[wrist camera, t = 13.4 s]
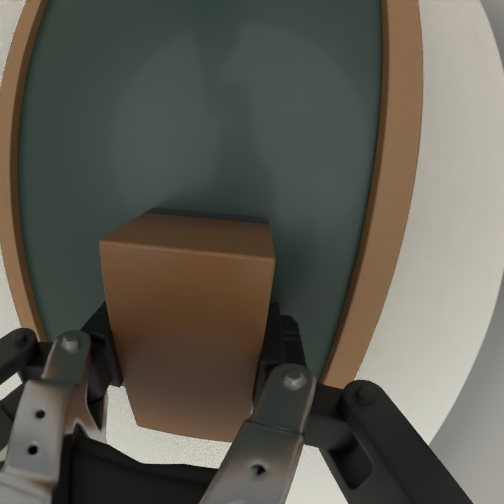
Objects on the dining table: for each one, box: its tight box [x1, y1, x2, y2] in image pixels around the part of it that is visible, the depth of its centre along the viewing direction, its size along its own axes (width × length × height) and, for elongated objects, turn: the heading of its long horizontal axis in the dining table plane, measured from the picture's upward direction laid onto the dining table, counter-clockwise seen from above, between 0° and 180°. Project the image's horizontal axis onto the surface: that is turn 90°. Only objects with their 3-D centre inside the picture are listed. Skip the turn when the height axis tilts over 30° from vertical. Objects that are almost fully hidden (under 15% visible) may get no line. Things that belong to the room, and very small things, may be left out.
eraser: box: [99, 208, 276, 443], centre depth 10 cm, size 8×4×4 cm, turn 174°
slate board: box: [0, 0, 423, 389], centre depth 10 cm, size 24×19×2 cm
